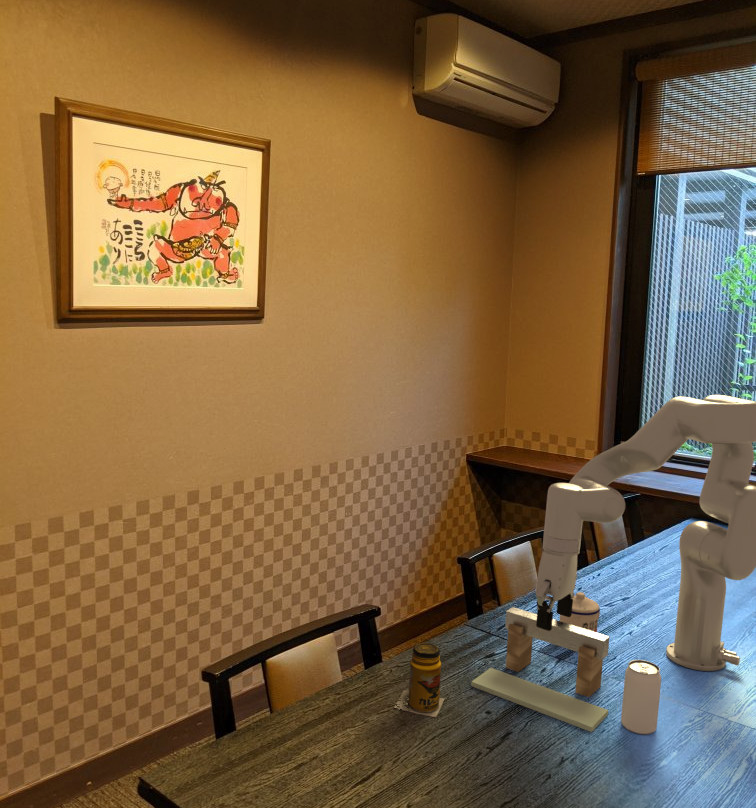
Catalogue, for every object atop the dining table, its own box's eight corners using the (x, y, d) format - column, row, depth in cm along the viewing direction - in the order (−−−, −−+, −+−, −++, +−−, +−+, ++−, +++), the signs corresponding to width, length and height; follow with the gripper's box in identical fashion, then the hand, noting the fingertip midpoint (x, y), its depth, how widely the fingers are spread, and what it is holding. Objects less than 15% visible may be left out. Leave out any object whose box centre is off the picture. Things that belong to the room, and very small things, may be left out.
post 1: (530, 662, 175) (533, 620, 174) (518, 672, 170) (521, 628, 169) (518, 658, 177) (521, 616, 175) (505, 667, 172) (508, 624, 171)
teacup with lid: (580, 652, 181) (584, 604, 179) (549, 638, 188) (552, 591, 186) (612, 640, 188) (616, 593, 186) (581, 626, 195) (585, 581, 193)
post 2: (600, 686, 165) (604, 641, 164) (589, 697, 161) (592, 651, 159) (587, 681, 167) (590, 637, 166) (575, 692, 163) (578, 647, 161)
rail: (607, 654, 162) (609, 636, 162) (602, 659, 160) (603, 641, 159) (511, 624, 175) (512, 607, 175) (505, 628, 173) (506, 611, 172)
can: (656, 721, 153) (662, 662, 151) (656, 738, 147) (662, 677, 145) (621, 714, 155) (626, 656, 153) (620, 731, 149) (625, 671, 147)
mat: (607, 714, 154) (608, 710, 154) (591, 732, 148) (592, 727, 148) (490, 672, 170) (490, 667, 170) (471, 686, 164) (471, 681, 163)
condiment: (436, 717, 151) (439, 658, 149) (393, 709, 153) (396, 650, 152) (444, 699, 158) (447, 642, 156) (403, 691, 160) (406, 635, 159)
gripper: (562, 530, 174) (555, 605, 176) (526, 547, 160) (518, 628, 162) (595, 538, 169) (587, 615, 171) (560, 557, 155) (552, 640, 158)
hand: (554, 621), depth 167 cm, fingers open, 9 cm apart
